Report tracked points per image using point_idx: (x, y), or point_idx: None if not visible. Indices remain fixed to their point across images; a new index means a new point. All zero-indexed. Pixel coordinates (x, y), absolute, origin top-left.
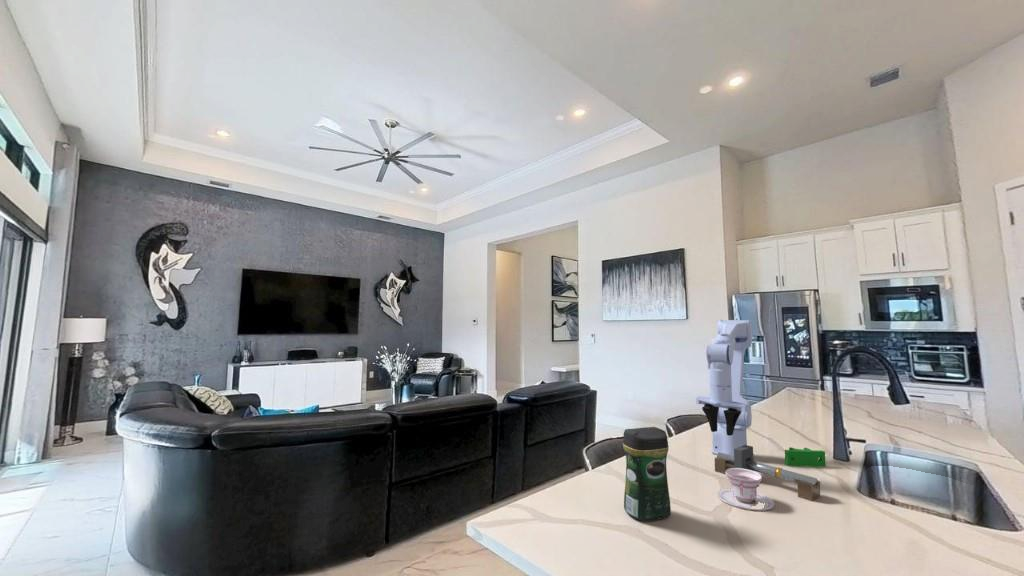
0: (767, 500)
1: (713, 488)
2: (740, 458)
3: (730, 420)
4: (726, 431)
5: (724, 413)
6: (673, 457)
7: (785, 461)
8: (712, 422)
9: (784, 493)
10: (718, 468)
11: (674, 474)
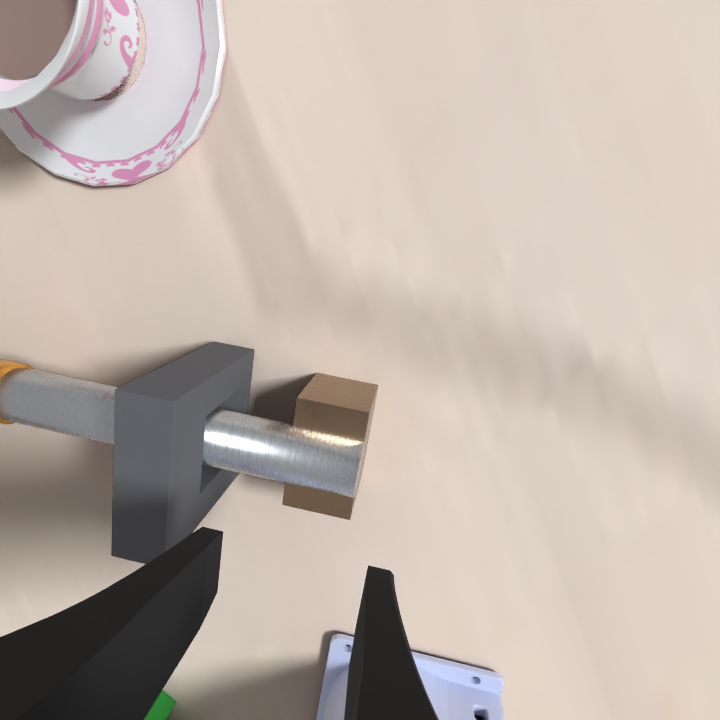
0: (20, 121)
1: (273, 73)
2: (160, 373)
3: (33, 626)
4: (204, 547)
5: (13, 717)
6: (673, 457)
7: (165, 715)
8: (361, 653)
9: (26, 304)
10: (352, 386)
11: (551, 123)
